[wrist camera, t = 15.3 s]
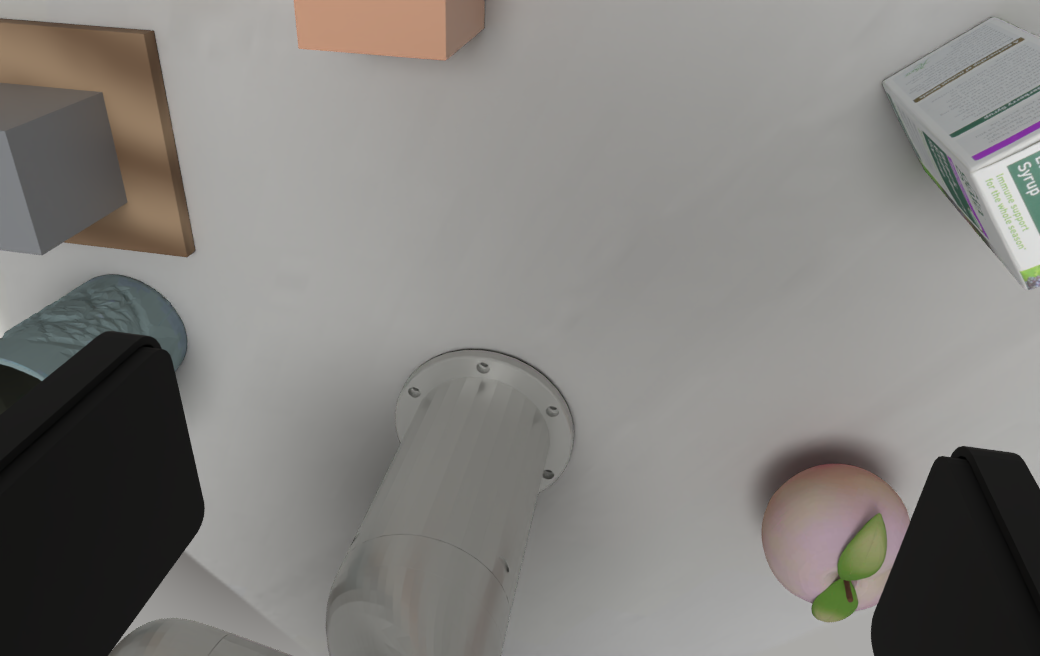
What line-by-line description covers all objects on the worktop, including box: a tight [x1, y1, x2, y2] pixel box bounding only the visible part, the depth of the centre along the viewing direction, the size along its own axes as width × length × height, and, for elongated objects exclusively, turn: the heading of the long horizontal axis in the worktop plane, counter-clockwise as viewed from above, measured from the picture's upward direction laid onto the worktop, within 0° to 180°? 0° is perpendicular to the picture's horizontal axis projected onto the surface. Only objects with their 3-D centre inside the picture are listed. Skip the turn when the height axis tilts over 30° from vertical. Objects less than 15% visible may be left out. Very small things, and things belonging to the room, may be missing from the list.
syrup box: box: [882, 17, 1040, 290], centre depth 34 cm, size 6×6×14 cm
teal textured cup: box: [0, 275, 187, 415], centre depth 52 cm, size 10×10×12 cm
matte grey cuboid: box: [0, 83, 128, 255], centre depth 46 cm, size 7×7×8 cm
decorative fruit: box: [762, 464, 910, 622], centre depth 49 cm, size 9×8×10 cm
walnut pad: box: [0, 19, 195, 257], centre depth 50 cm, size 14×14×1 cm
